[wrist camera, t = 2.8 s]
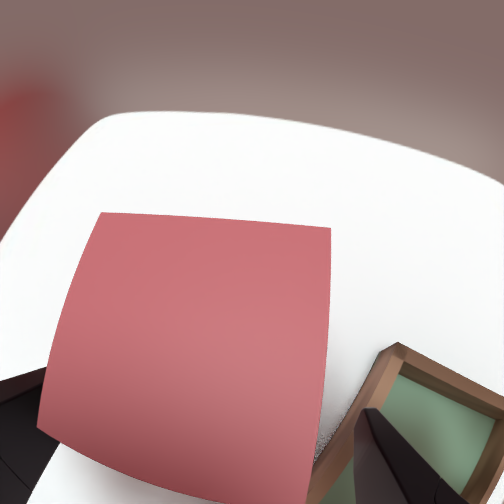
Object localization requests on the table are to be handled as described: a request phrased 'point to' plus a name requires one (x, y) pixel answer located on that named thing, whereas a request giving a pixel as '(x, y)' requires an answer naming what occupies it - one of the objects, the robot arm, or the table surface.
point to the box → (421, 427)
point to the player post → (195, 354)
